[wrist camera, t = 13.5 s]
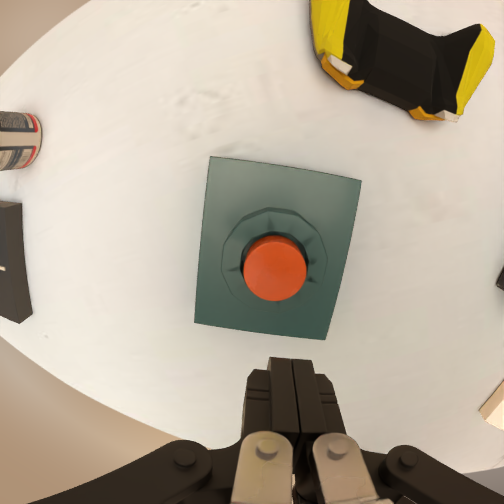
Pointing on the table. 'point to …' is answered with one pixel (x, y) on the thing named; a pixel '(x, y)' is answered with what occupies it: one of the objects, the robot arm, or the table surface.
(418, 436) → the table surface
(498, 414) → the bracket
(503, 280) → the small box
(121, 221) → the table surface
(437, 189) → the table surface
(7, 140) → the pill bottle
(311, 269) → the button block
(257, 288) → the button
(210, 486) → the robot arm
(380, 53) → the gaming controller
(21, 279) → the dial panel
